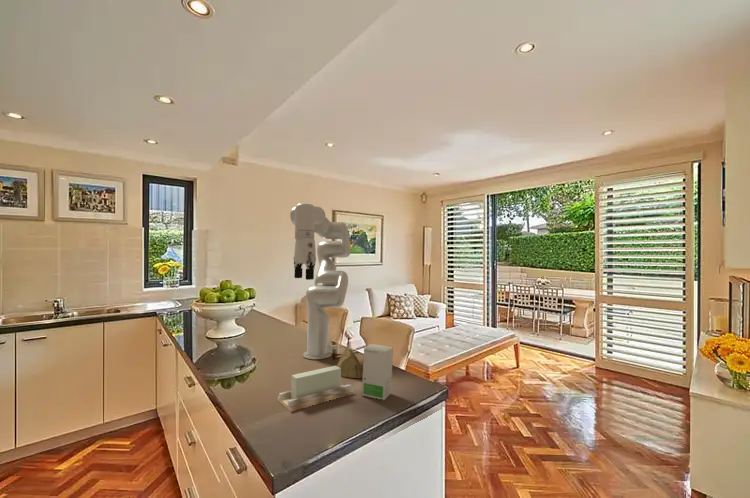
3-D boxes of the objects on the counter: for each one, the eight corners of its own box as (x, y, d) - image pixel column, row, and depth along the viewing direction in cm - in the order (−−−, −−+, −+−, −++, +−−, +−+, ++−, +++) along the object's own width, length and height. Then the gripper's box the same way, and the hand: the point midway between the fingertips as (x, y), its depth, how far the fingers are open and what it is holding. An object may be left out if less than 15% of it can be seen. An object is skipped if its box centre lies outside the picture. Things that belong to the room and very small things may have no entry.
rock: (370, 371, 127) (358, 360, 136) (360, 355, 124) (348, 345, 132) (349, 392, 123) (337, 379, 132) (337, 376, 120) (326, 365, 128)
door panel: (335, 386, 115) (335, 365, 115) (340, 389, 112) (341, 368, 112) (290, 397, 105) (291, 375, 105) (295, 401, 102) (296, 378, 103)
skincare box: (361, 396, 110) (362, 347, 110) (369, 389, 116) (370, 343, 116) (385, 400, 106) (386, 351, 107) (392, 393, 112) (393, 346, 113)
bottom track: (337, 384, 119) (337, 377, 119) (353, 393, 111) (353, 386, 111) (277, 400, 106) (277, 392, 106) (290, 411, 98) (290, 403, 98)
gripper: (323, 235, 129) (323, 279, 129) (303, 236, 143) (302, 277, 142) (306, 234, 125) (305, 280, 124) (286, 235, 138) (285, 277, 138)
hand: (303, 278), depth 133 cm, fingers open, 9 cm apart
